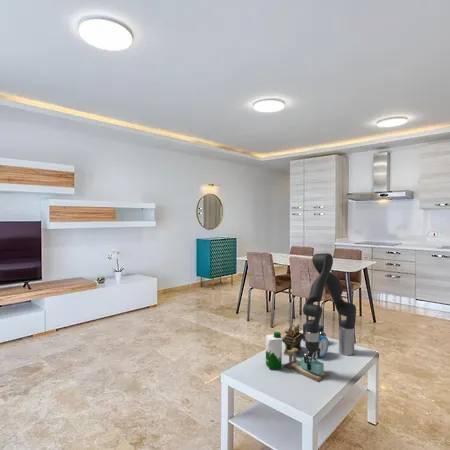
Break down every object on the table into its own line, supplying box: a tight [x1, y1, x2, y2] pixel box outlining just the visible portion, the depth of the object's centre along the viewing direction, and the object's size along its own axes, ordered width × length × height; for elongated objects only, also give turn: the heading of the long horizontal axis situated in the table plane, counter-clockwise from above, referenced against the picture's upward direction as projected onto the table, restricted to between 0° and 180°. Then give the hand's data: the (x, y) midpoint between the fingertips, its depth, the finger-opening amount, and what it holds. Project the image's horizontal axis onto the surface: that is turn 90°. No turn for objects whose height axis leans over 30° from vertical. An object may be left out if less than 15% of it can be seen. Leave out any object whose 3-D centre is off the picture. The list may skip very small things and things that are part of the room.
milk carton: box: [265, 331, 283, 371], centre depth 188 cm, size 9×9×20 cm
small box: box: [302, 322, 325, 342], centre depth 227 cm, size 13×7×12 cm, turn 50°
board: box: [283, 348, 330, 383], centre depth 183 cm, size 11×23×9 cm, turn 40°
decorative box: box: [281, 322, 305, 357], centre depth 208 cm, size 20×10×20 cm, turn 143°
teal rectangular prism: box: [300, 356, 325, 375], centre depth 181 cm, size 5×12×5 cm, turn 41°
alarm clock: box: [317, 331, 330, 359], centre depth 204 cm, size 13×6×15 cm, turn 131°
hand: (311, 368), depth 181 cm, fingers closed on teal rectangular prism, 5 cm apart
